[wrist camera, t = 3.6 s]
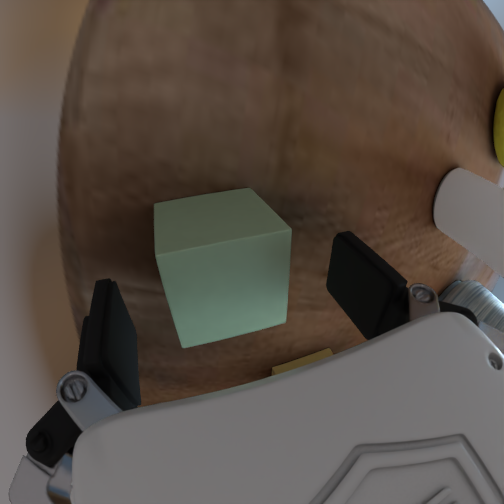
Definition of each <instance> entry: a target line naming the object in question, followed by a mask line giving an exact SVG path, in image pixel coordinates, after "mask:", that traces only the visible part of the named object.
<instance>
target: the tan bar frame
mask: <svg viewBox="0 0 504 504" xmlns="http://www.w3.org/2000/svg"><path fill="white" fill-rule="evenodd" d="M332 355H334V354H333V353H332V351H331V350H330V348H327V349H324V350H322V351H319V352H316V353H314V354H311V355H308V356H305V357H302V358H299V359H296V360H294V361H291V362H288V363H284V364H281V365H278V366H275V367H272V376H274V375H277V374H280V373H284V372H287V371H290V370H293V369H296V368H299V367H302V366H304V365H307V364H310V363H313V362H316V361H318V360H321V359H324V358H326V357H329V356H332Z"/></svg>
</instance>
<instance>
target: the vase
mask: <svg viewBox="0 0 504 504" xmlns="http://www.w3.org/2000/svg"><path fill="white" fill-rule="evenodd" d="M438 300H439V301H443V302H447V303H450V304H454V305H458V306H462V307H465V308H468V309H470V310H471V311H472V312H473V313H474V314H475V316H476V318H477V322H478V321H479V320H481V321H483V322H485V323H487V324H489V325H491V326H493V327H495V328H496V329H498V330H500V331H502V332H504V304H503V303H502V302H500V300H498V299H497V298H496V297H495V296H494V295H493V294H492V293H491V292H490V291H488V290H487V289H486V288H485V287H484V286H483V285H481V284H480V283H479V282H477V281H475V280H466V281H463V282H462V281H461V280H458V281H455V282H454V283H452V284H451V285H450V286H449V287H448V288H446V290H445V291H444V292H443V293H442V294H441V295H440V296H439V298H438Z"/></svg>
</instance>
